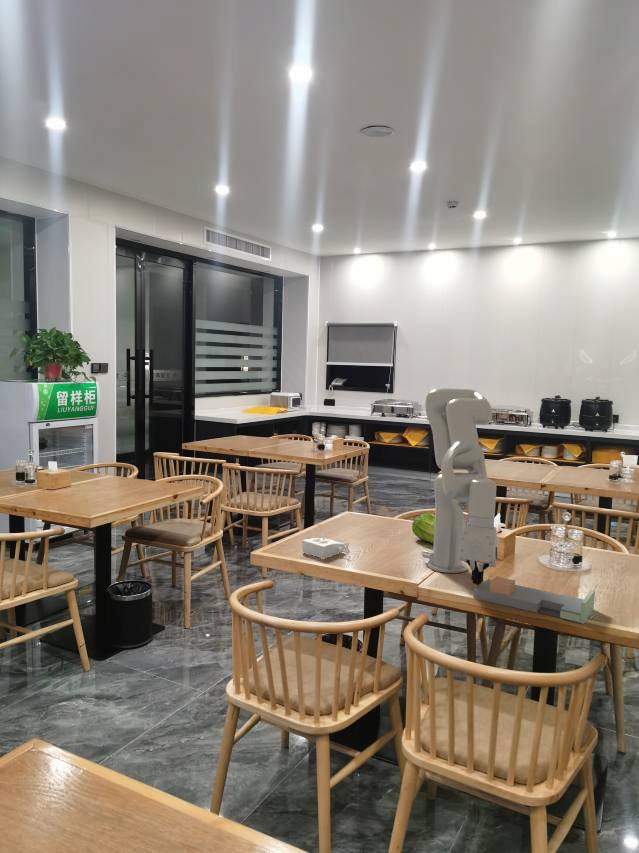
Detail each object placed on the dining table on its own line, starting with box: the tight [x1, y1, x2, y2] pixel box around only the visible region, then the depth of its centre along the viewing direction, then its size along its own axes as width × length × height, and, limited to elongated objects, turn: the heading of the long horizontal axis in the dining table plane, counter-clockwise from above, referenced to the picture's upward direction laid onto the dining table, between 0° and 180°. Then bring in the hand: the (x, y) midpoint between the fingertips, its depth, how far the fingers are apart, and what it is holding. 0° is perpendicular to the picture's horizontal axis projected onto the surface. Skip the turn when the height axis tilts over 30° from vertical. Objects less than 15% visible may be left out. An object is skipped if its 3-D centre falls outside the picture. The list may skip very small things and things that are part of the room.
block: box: [489, 576, 516, 596], centre depth 182 cm, size 6×6×3 cm
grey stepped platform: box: [472, 578, 596, 624], centre depth 180 cm, size 30×13×6 cm, turn 56°
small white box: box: [301, 533, 351, 560], centre depth 223 cm, size 8×20×16 cm
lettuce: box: [411, 512, 435, 545], centre depth 239 cm, size 12×24×13 cm
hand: (477, 583), depth 186 cm, fingers closed
